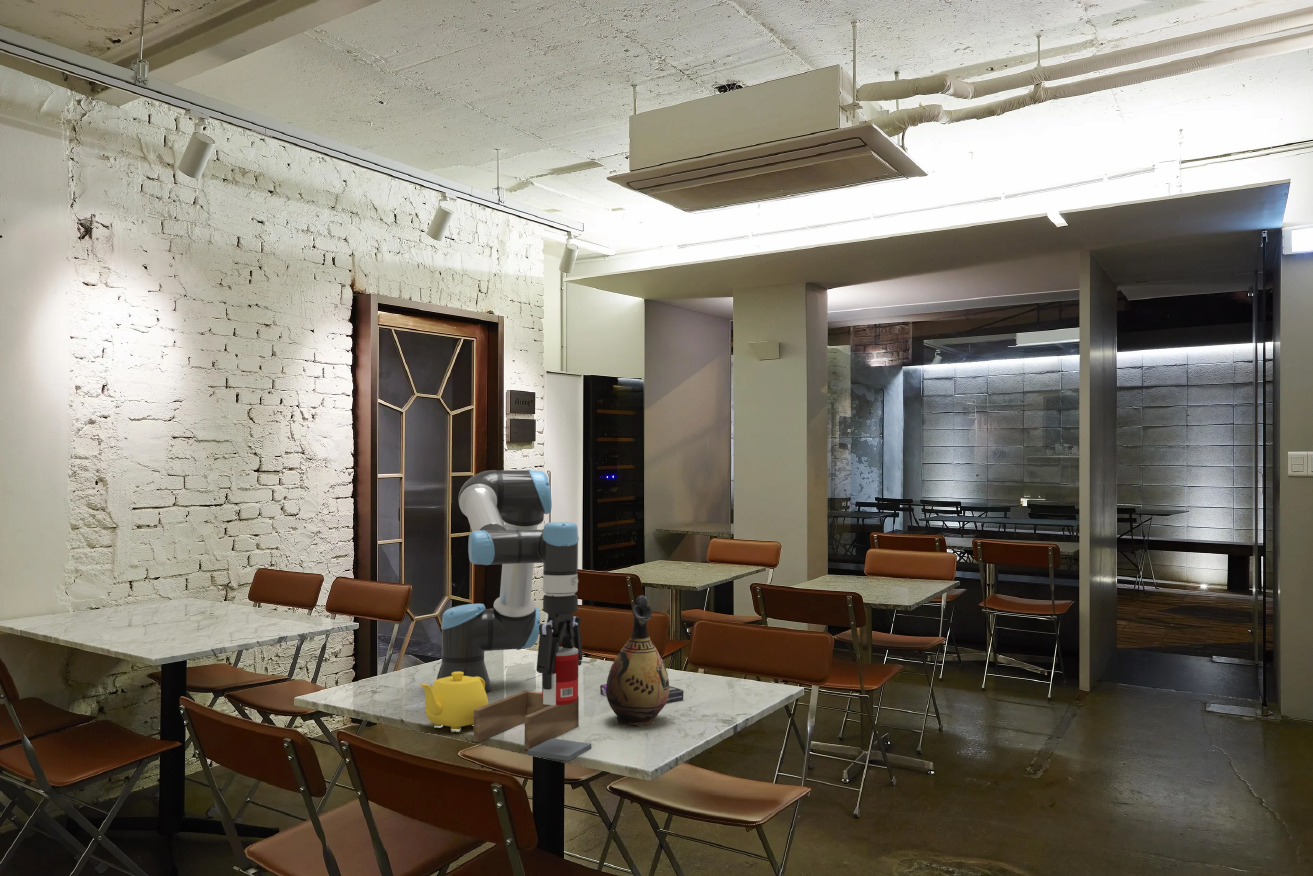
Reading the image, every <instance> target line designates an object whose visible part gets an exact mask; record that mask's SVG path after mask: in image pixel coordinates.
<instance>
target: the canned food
mask: <svg viewBox="0 0 1313 876" xmlns="http://www.w3.org/2000/svg"><path fill="white" fill-rule="evenodd" d="M553 673H556V705H566V704H572V703H574V702H576V701H577V699H578V696H579V665H578V649H577V648H574V647H573V648H563V646H559V649H558V653H556V663H555V668H554V672H553ZM541 682H542V683H541V692H542V699H543V673H541Z"/></svg>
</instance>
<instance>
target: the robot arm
mask: <svg viewBox="0 0 1313 876" xmlns="http://www.w3.org/2000/svg"><path fill="white" fill-rule="evenodd" d="M457 500H458V505H459V509H460V511H461V513H462V514H463V515H465V517H467V519H468V523H469V525H470V529H471V533H469V535H468V544H467V545H468V551H467V552H468V559H469V562H470V563H471V564H473V565H484V566H489V565H492V566H493V565H501V566H502V567H501V575H500V577H501V578H500V588H499V589H500V591H499V597H497V598H496V599H495V600H494V602H493V608H486V606H485V604H484V603H469V604H461V605H456V606H453V607H451V608H447V609H446V610H445V611H444V612H443V613H442V620H441V621H442V622H441V627H440V628H441V664H440V667H439V671H438V673H437V677H436V679H435V680H437V679H440V678H445V677H449V676H452V674H451V673H453V672H458V671H459V672H464V675H463V676H470V677H481V678H482V679H483V680H484V681H485V692H486V693H487V692H489V691H490V690H491V679H490V676H489V673H488V670H487V667H486V662H485V652H489V651H490V652H491V651H507V650H517V651H520V650H523V649H530V648H532V647H534V646H535V645H536V643H537V641H538V649H537V659H536V672H538V673H539V674H542V673H543V704H547V705H556V673H553V672H554V668H555V663H556V653H558V649H559V647H560V643H561V644H562V645H561V647H563V648H573V647H574V648H577V649H578V666H581V665H582V661H583V648H582V637H581V621H582V619H581V617H580V616H574V613H576V612H578V610H579V608H578V607H579V606H578V605H579V601H578V600H579V599H578V597H579V596H578V595H577V594H576V593H577V592H578V590H579V589H578V586H579V585H578V584H579V577H578V574H579V573H578V572H579V571H578V570H579V568H578V567H579V564H578V563H579V560H578V559H579V540H580V537H579V533H578V525H577V524H576V523H575V522H568V521H567V522H566V521H565V522H564V521H563V522H562V521H560V522H559V521H557V522H553V521H552V522H546V523H545V524H544V526H543V529H538V526H540V525H541V524H542V523H543V522H544V518H545V515H547V514H550V513H551V512H552V509H553V508H552V505H553V503H552V501H553V500H552V491H551V485H550V481H549V478H548V475H547V474H546V473H545V472H544V471H542V470H534V469H533V470H531V469H526V470H525V469H524V470H522V469H521V470H520V469H517V470H516V469H515V470H513V469H512V470H509V469H508V470H507V469H506V470H505V469H503V470H501V469H500V470H499V469H498V470H497V469H492V470H491V469H490V470H484V471H480V472H479V473H477V474H474V475H473V476H471V477H470V478H468V480H466V481H465V482H464V484H463V485H462V486H461V488H460V491H459V493H458V499H457ZM534 564H543V568H542V569H543V572H542V573H543V574H542V593H544V595H543V597H542V611H543V612H544V613H546V614H547V620H546V623H544V624H543V623H541V613H540V609H539V607H537V606H536V603H535V601H534V600H532V599H531V598H532V589H533V587H532V586H533V576H534V566H535V565H534Z"/></svg>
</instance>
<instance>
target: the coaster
mask: <svg viewBox="0 0 1313 876" xmlns="http://www.w3.org/2000/svg"><path fill="white" fill-rule="evenodd" d="M591 749H592V743H591V742H590V743H589V742H581V741H575V740H574V741H573V740H567V739H561V738H560V739H559V738H552V739H549V740H547V741H545V742H543V743H541V744H539V745H537V746H535V747H533V748H531V749H526V751H527V753H526V754H527V755H526V756H530V757H531V756H532V757H537V758H545V759H552V760H558V761H564V762H569V761H571V760H573V759H574V758H577V757H578V756H580V755H582V754H584V753H585V752H587V751H589V750H591Z"/></svg>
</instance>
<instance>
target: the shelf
mask: <svg viewBox="0 0 1313 876" xmlns="http://www.w3.org/2000/svg"><path fill="white" fill-rule="evenodd" d="M579 698H580V697H579V695H578V699H577V701H576V702H574V703H572V704H566V705H547V704H543V699H542V691H536V690H523V691H520V692H519V691H518V692H517V693H515V694H511V695H509V696H506V697H504V698H502V699H501V698H500V699H498V700H496V701H493V702H491V703H488V705H485V706H483V707H480V708H477V709H475V710H474V727H473V740H472V741H473V742H476V743H480V742H483V741H485V740H487V739H490V738H492V737H495V736H497V735H499V734H501V733H504V732H506V731H508V730H510V729H514V728H516V727H517V726H520V725H522V724H524V750H529V749H531V748H533V747H535V746H537V745H539V744H541V743H543V742H545V741H547V740H549V739H552V738H554V739H556V738H557V737H559V736H562V735H563V734H565V733H568V732H569V731H572V730H574V729H575V728H576V729H577V728H578V727H579V723H580V722H579V720H580V719H579V715H580V714H579V708H580V707H579V706H580V703H579V700H580V699H579ZM494 735H495V736H494Z"/></svg>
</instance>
